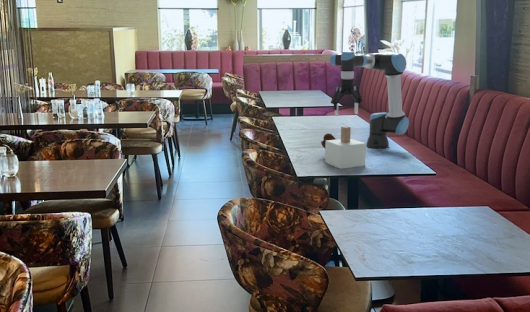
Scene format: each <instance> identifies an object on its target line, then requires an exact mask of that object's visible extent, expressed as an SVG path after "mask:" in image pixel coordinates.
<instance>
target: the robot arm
mask: <svg viewBox="0 0 530 312" xmlns="http://www.w3.org/2000/svg"><path fill="white" fill-rule="evenodd" d="M329 63H330V65H331V66H333V67H340V78H341V79H340V87H338V86H336V87H335V92H334V93H333V96H332V98H331V100H330V104H332V105H333V111H334V116H335V117H338V116H339V102H340V101H341V100H342V98H343V96H345V95H346V96H347V95H350V96H351V97H352V99H353V100H354V108H353V109H354V110H353V111H354V114H355V115H359V108H360V104H361V102H363V98H362V96H361V93H360V91H359V86H357V85H354V84H355V83H354V82H355V79H354V78H355V68H365V69H369V70H370V69H371V70H373V71H380V72H381V71H383V72H384V73H383V74H384V76H385V77H386V83H387V85H386V87H387V98H388V99H387V101H388V112H385V111H383V112H375V113H371V114H370V115H369V116H370V117H369V135H368V138H367V140H366V142H365V143H366V148H367V147H368V148H373V149H386V148H389V146H390V143H389V140H388V134H387V133H389V134H396V135H403V134H405V133H406V132H407V131H408V129H409V124H410V120H409V118H408V117H406V114H405V112H404V111H403V97H402V79H401V77H402V76H403V73H404V71H405V70H406V68H407V59H406V56H405V55H403V54H402V53H399V52H374V53H367V54H364V53H355V52H354V51H353V50H350V51H348V50H347V51H343V50H342V52H341V53H337V52H336V53H332V54H330V58H329Z"/></svg>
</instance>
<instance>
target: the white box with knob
mask: <svg viewBox="0 0 530 312" xmlns="http://www.w3.org/2000/svg"><path fill="white" fill-rule="evenodd" d="M351 129H352V128H351V127H350V126H347V125H345V126H341V127H340V138H338V139H336V140H327V141H326V142H325V148H324V151H325V153H324V163H325V164H328V165H330V166H333V167H335V168H338V169H341V170H342V169H350V168H356V167H357V168H358V167H365V166H366V151H367V149H366V148H367V146H366V143H367V142H363V141H359V140H357V139H354V138H351Z"/></svg>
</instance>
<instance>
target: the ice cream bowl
mask: <svg viewBox="0 0 530 312" xmlns="http://www.w3.org/2000/svg"><path fill="white" fill-rule="evenodd" d="M327 140H337V139H336V137H335V136H334V135H333V134H331V133H325V134H324V135H323V140H321V142H320V144H321V146H322V147H323V148H324V149H325V142H326V141H327Z"/></svg>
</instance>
